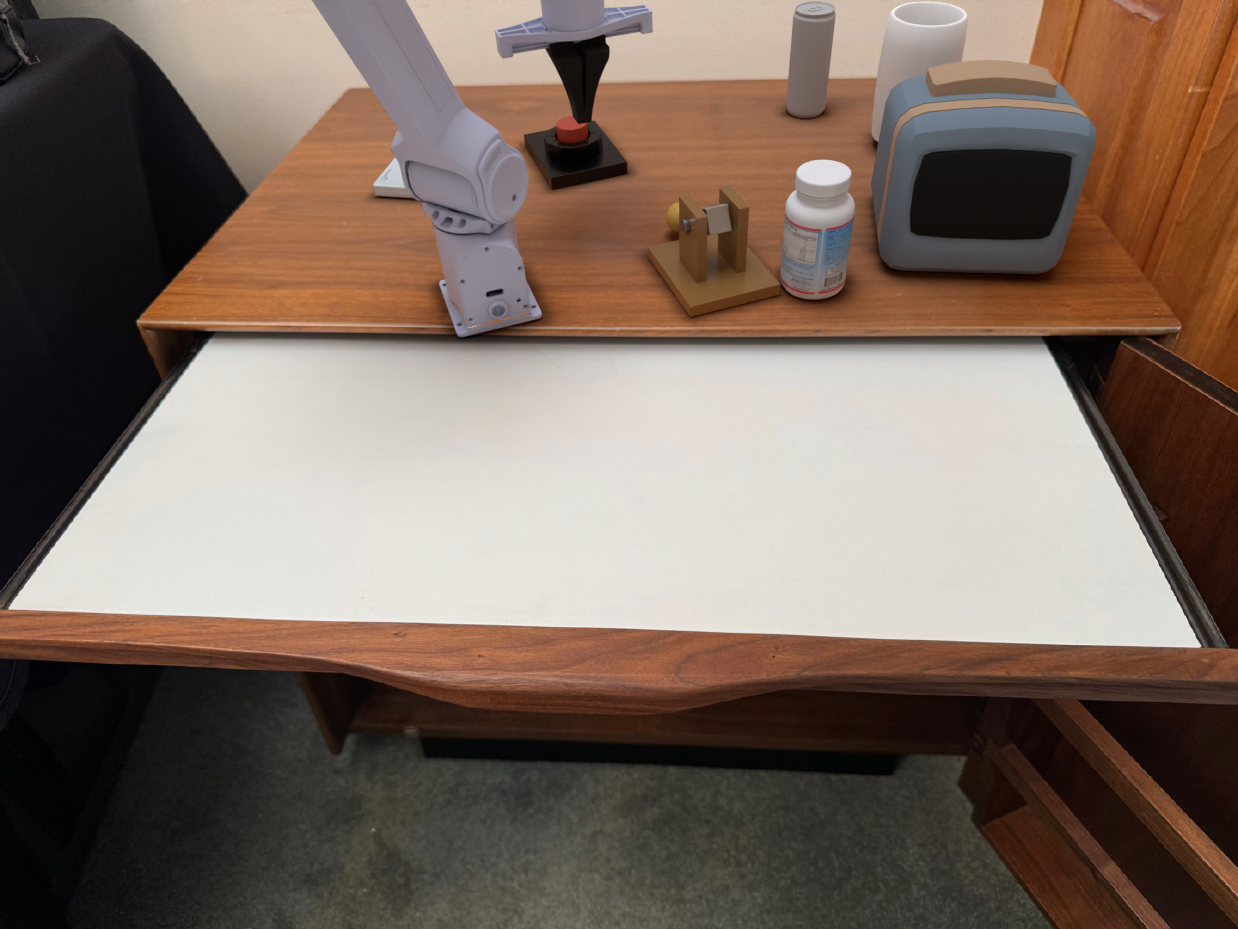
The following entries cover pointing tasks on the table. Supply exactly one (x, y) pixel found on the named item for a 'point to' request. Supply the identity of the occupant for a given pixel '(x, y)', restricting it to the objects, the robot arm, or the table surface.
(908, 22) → the cup
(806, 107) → the beverage can
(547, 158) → the button block
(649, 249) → the bracket
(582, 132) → the button
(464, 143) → the robot arm
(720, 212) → the tap lever
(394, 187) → the hard drive
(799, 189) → the pill bottle
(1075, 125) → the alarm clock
